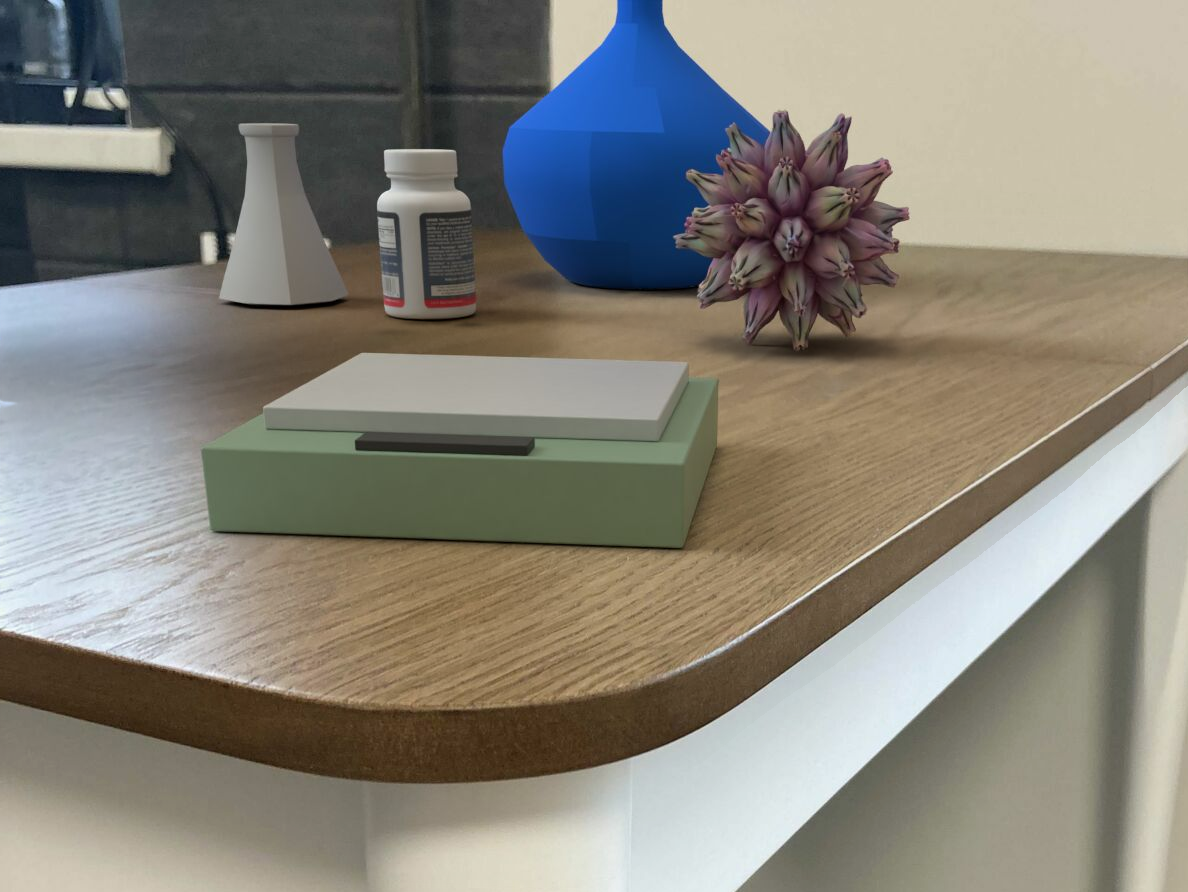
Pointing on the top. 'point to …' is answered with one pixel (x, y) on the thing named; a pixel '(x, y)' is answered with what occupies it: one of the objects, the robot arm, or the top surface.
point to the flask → (278, 230)
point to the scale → (474, 452)
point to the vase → (622, 158)
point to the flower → (792, 229)
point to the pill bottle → (425, 237)
